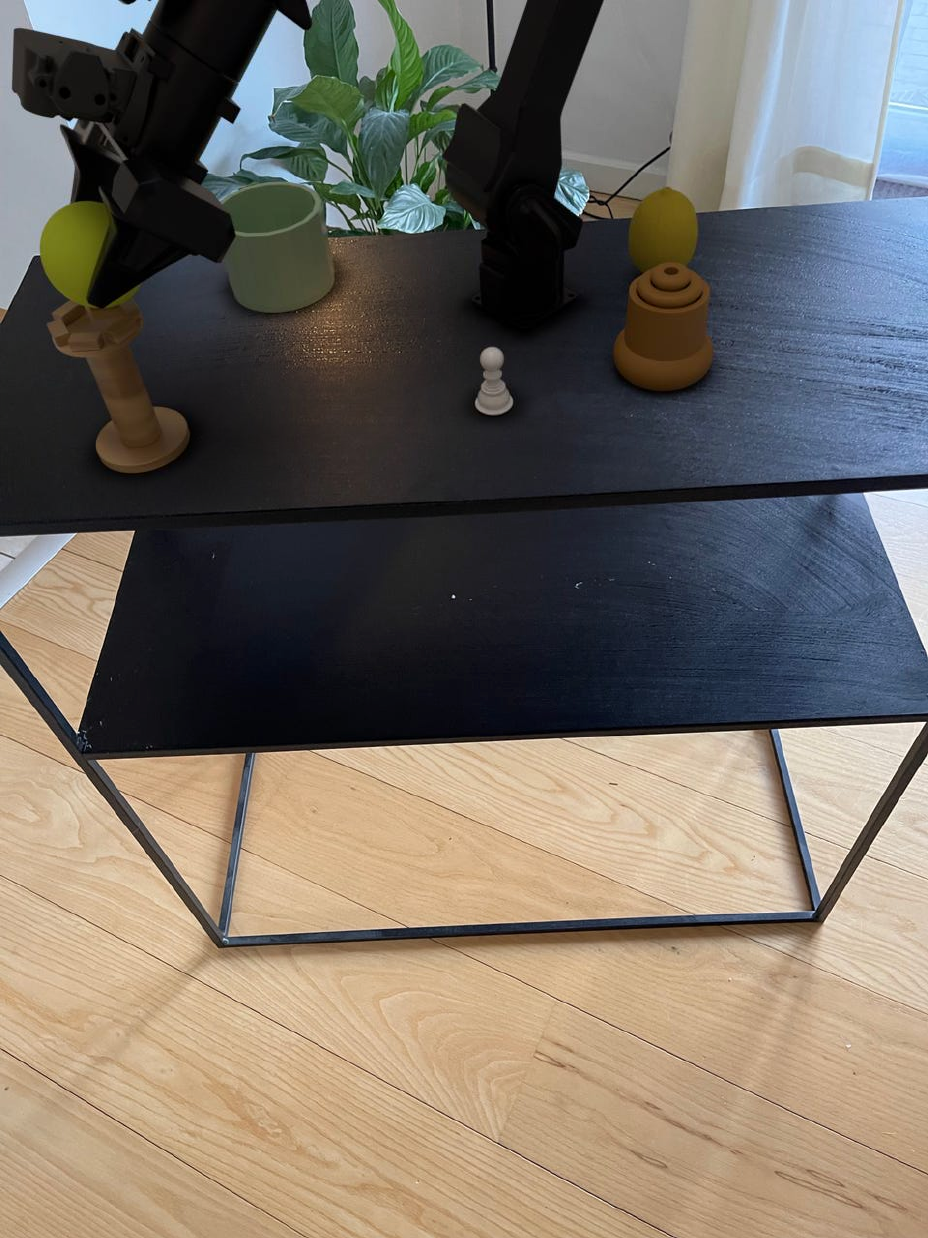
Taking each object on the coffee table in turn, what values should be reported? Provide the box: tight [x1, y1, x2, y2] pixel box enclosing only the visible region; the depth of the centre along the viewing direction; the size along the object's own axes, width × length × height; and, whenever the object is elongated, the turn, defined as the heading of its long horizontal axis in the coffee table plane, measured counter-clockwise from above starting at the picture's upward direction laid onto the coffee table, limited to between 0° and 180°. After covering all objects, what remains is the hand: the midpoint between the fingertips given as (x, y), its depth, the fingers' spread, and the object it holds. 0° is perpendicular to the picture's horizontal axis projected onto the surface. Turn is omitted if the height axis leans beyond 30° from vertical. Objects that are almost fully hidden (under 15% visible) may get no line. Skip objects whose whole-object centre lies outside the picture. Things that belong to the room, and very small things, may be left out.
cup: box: [219, 181, 335, 314], centre depth 84 cm, size 9×9×7 cm
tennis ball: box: [39, 201, 143, 308], centre depth 62 cm, size 6×6×6 cm
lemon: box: [627, 186, 699, 274], centre depth 80 cm, size 6×6×8 cm
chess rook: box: [46, 296, 191, 474], centre depth 69 cm, size 7×7×11 cm
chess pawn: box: [474, 346, 514, 416], centre depth 71 cm, size 3×3×5 cm
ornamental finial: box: [612, 262, 715, 392], centre depth 72 cm, size 8×8×8 cm
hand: (81, 281), depth 63 cm, fingers closed on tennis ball, 6 cm apart
